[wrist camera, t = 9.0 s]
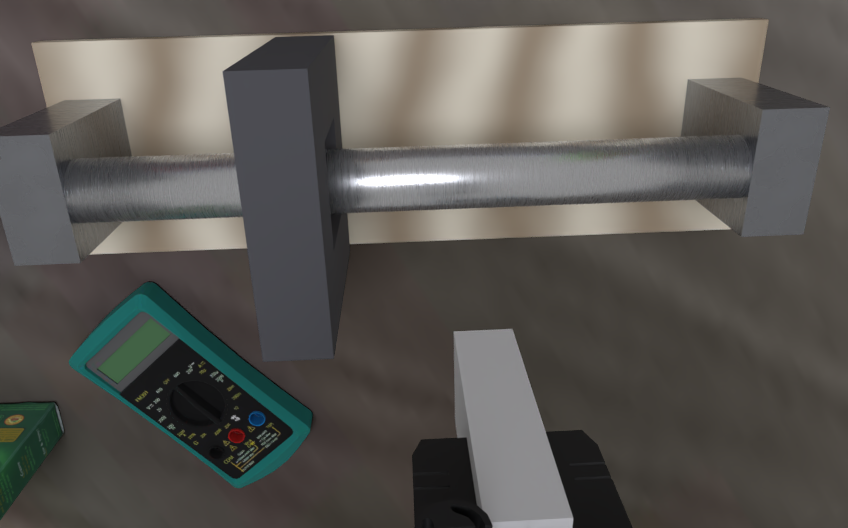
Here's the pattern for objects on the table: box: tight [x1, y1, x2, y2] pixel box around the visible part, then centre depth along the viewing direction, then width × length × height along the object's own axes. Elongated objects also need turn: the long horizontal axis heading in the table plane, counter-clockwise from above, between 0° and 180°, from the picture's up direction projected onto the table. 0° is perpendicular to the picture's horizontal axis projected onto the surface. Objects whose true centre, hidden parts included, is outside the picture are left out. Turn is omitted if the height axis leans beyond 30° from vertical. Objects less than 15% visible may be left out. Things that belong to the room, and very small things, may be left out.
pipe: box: [0, 77, 830, 266], centre depth 35 cm, size 37×6×9 cm, turn 91°
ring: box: [222, 35, 350, 362], centre depth 33 cm, size 3×12×12 cm, turn 1°
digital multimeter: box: [69, 282, 313, 488], centre depth 45 cm, size 7×15×3 cm, turn 42°
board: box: [31, 18, 769, 254], centre depth 40 cm, size 39×12×1 cm, turn 91°
